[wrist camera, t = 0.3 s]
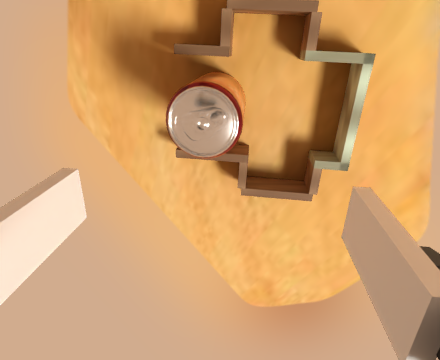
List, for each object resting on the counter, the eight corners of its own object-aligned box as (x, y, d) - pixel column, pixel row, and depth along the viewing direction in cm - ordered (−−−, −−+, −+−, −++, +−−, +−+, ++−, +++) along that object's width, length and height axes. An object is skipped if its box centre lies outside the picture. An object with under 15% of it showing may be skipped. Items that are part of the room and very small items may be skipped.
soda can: (202, 137, 40) (183, 170, 29) (179, 84, 38) (150, 100, 27) (253, 118, 39) (253, 146, 28) (233, 61, 36) (224, 68, 25)
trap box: (181, 0, 34) (173, -5, 30) (372, 7, 32) (387, 3, 29) (183, 177, 43) (176, 189, 39) (332, 189, 42) (339, 203, 38)
